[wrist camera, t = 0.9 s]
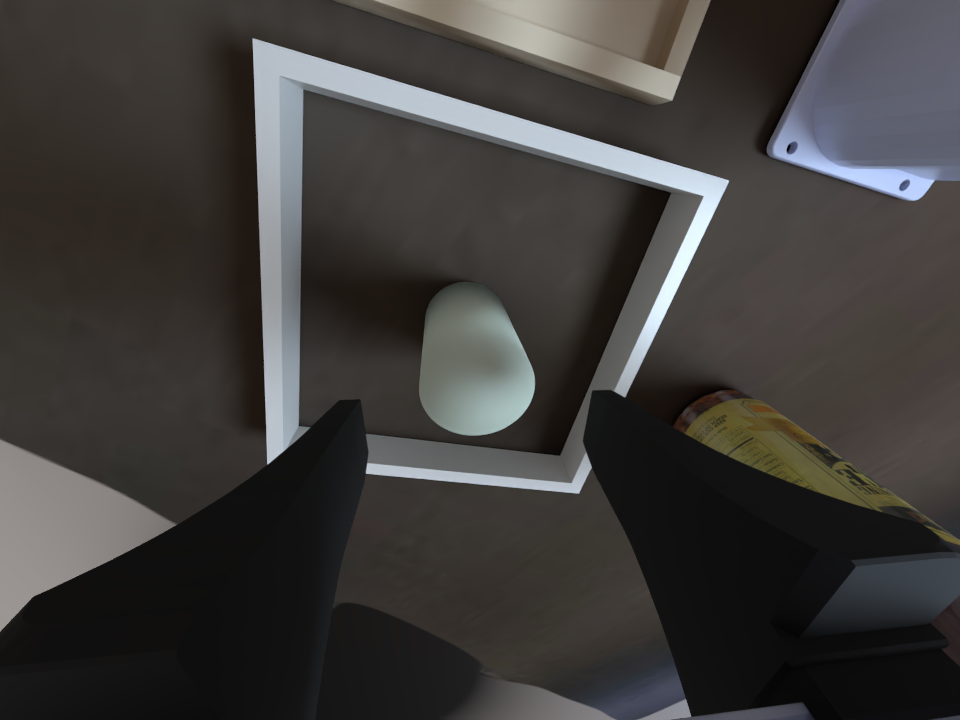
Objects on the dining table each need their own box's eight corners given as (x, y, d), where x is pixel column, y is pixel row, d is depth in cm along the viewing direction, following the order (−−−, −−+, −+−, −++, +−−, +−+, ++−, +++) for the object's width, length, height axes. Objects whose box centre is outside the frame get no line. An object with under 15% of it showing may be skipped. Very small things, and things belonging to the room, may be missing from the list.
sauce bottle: (765, 424, 26) (1453, 963, 8) (685, 469, 27) (1132, 1015, 10) (735, 362, 23) (1673, 975, 6) (648, 417, 24) (1179, 1045, 7)
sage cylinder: (514, 290, 19) (550, 347, 13) (494, 362, 21) (517, 440, 15) (432, 273, 19) (429, 326, 12) (419, 350, 20) (411, 428, 14)
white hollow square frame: (693, 179, 18) (729, 180, 15) (566, 465, 26) (578, 493, 24) (281, 58, 14) (252, 38, 12) (284, 434, 22) (267, 464, 20)
